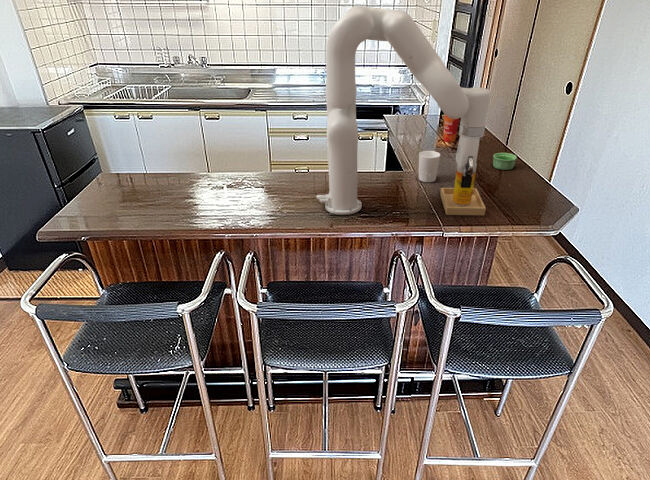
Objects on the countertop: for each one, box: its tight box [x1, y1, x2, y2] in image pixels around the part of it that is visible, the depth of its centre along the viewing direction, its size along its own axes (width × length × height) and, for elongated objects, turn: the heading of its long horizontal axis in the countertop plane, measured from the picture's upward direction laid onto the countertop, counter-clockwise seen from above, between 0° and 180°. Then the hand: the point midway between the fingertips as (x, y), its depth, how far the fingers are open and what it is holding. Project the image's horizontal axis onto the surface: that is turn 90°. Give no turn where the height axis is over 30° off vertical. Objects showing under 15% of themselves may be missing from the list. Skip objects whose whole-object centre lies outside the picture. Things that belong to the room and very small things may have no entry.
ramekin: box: [492, 152, 518, 171], centre depth 178 cm, size 9×9×4 cm
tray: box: [439, 187, 487, 216], centre depth 150 cm, size 12×16×3 cm
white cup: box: [418, 150, 441, 183], centre depth 167 cm, size 8×8×10 cm
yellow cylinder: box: [453, 163, 478, 206], centre depth 146 cm, size 6×6×15 cm
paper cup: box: [442, 114, 460, 143], centre depth 206 cm, size 8×8×14 cm
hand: (462, 181), depth 146 cm, fingers open, 9 cm apart
